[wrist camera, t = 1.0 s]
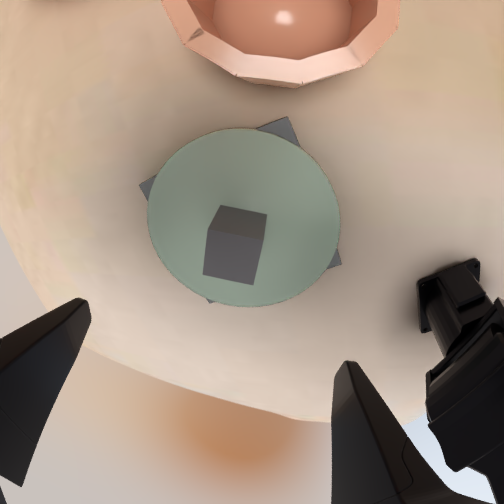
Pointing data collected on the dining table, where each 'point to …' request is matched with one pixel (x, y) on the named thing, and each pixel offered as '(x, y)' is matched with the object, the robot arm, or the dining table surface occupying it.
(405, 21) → the dining table surface
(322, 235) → the lid
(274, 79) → the bowl
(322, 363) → the dining table surface
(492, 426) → the robot arm
